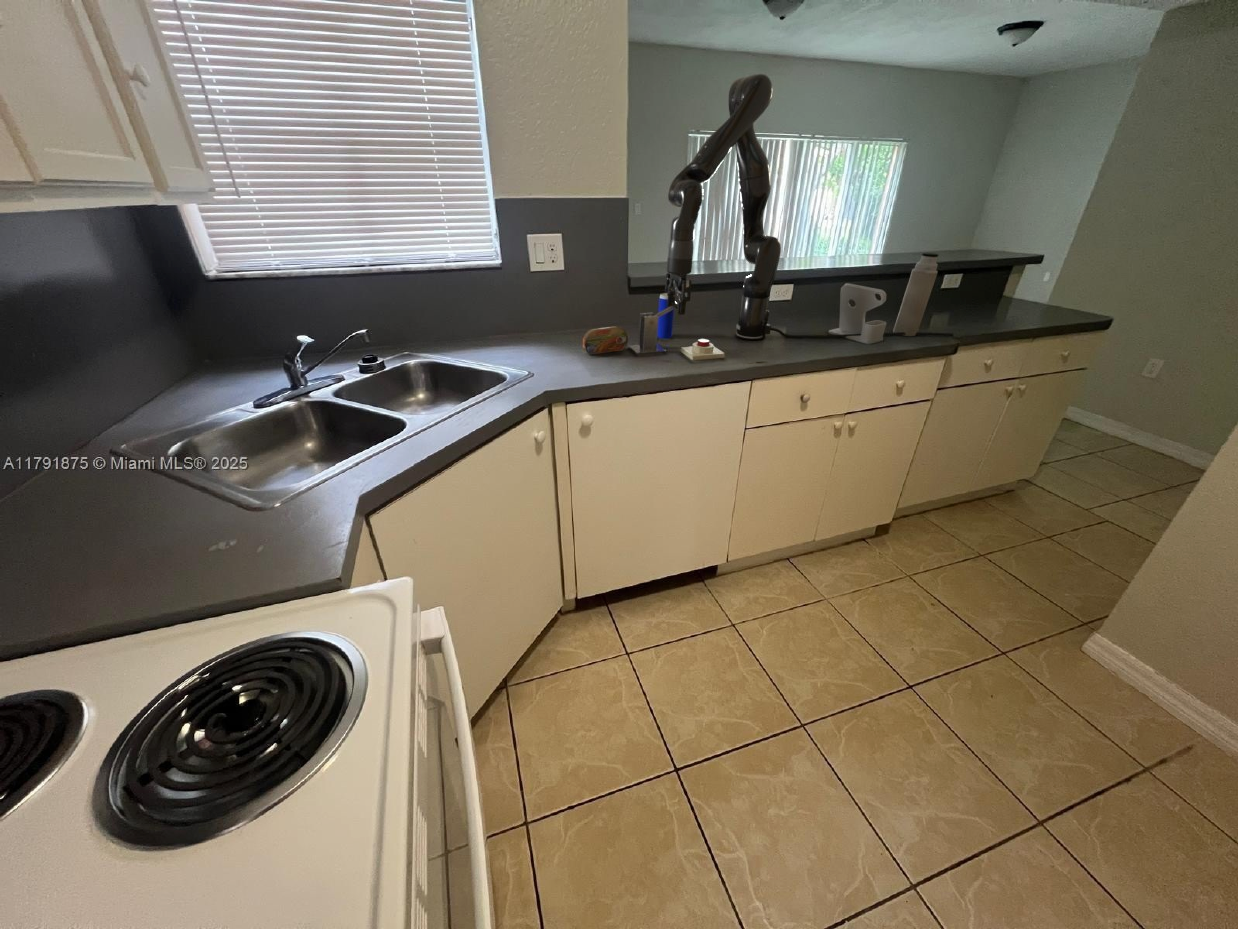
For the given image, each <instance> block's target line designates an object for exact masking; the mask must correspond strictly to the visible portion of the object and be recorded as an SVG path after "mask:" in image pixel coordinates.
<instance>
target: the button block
mask: <svg viewBox="0 0 1238 929" xmlns="http://www.w3.org/2000/svg"><path fill="white" fill-rule="evenodd" d="M680 353H682V354H683V355H684V356H686V357H687V358H688V359H690V360H691V361H700V360H701V361H702V360H711V359H723V358H726V357H725V356H726V353H725V352H724V351H722V350H720V349H719V348H717V347H716V346H714V344H713V343H712V342H709V346H708V347H701V346H698V341H696V342H693V343H692V346H684V347H683V346H682V347H680Z"/></svg>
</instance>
